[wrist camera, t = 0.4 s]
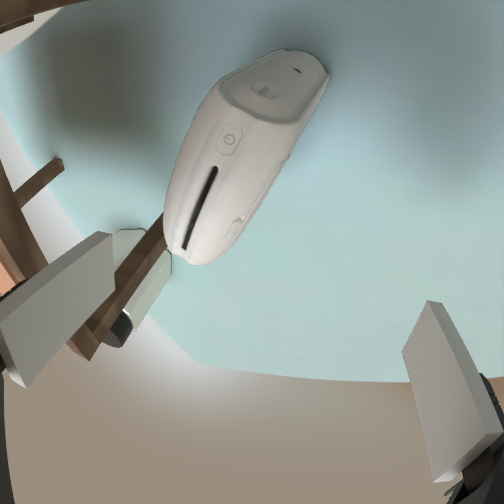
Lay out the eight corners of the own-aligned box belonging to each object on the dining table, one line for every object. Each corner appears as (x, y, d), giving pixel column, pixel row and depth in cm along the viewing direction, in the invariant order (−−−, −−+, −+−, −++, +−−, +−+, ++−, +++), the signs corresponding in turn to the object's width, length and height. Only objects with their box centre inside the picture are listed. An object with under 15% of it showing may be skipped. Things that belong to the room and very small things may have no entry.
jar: (116, 216, 36) (54, 288, 28) (172, 241, 35) (114, 325, 27) (123, 261, 43) (75, 326, 35) (172, 284, 42) (127, 358, 34)
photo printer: (282, 37, 17) (179, 81, 9) (341, 69, 17) (300, 146, 9) (227, 149, 24) (137, 256, 16) (273, 176, 25) (205, 297, 17)
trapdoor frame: (25, 11, 18) (-118, 88, 7) (196, -31, 14) (-71, 19, 3) (57, 168, 34) (-40, 263, 22) (199, 203, 30) (89, 361, 18)
